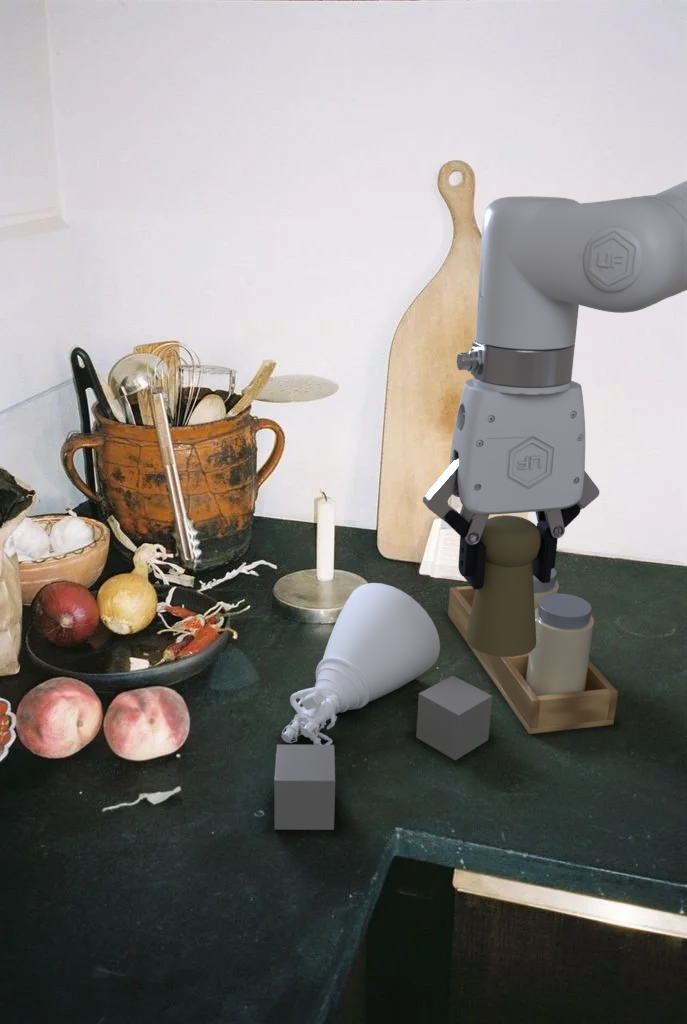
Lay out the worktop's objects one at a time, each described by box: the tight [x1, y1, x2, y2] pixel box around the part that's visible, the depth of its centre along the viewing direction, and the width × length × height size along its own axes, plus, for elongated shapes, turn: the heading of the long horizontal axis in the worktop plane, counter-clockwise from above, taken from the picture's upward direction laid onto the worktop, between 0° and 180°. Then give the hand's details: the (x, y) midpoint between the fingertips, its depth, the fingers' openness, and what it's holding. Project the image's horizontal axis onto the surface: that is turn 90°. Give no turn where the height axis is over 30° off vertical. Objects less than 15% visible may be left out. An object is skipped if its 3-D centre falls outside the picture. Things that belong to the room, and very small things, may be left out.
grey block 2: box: [415, 675, 493, 761], centre depth 90 cm, size 5×5×5 cm
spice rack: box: [447, 585, 619, 735], centre depth 104 cm, size 9×26×4 cm, turn 12°
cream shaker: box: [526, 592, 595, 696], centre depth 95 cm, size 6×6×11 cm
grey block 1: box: [273, 744, 336, 831], centre depth 80 cm, size 5×5×5 cm
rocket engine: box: [280, 582, 441, 745], centre depth 94 cm, size 12×12×18 cm
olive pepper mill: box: [466, 514, 541, 657], centre depth 79 cm, size 6×6×11 cm
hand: (505, 577), depth 79 cm, fingers closed on olive pepper mill, 5 cm apart
